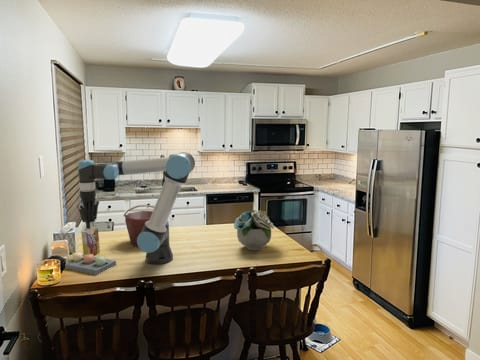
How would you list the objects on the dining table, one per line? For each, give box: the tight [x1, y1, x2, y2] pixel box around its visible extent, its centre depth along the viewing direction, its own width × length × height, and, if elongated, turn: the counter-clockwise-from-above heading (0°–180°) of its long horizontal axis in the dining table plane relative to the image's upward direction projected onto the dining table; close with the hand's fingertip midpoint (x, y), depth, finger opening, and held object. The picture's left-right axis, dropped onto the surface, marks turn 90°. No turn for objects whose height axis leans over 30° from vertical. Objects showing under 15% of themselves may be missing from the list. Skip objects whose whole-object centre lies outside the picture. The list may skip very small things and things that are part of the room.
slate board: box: [65, 254, 117, 276], centre depth 190 cm, size 24×14×2 cm, turn 68°
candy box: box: [81, 227, 101, 256], centre depth 206 cm, size 9×4×15 cm, turn 156°
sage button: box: [95, 255, 106, 267], centre depth 187 cm, size 5×5×4 cm
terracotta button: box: [84, 254, 95, 265], centre depth 190 cm, size 5×5×4 cm
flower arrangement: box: [233, 209, 275, 252], centre depth 217 cm, size 25×25×24 cm
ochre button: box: [71, 251, 83, 263], centre depth 193 cm, size 5×5×4 cm
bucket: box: [123, 204, 155, 248], centre depth 226 cm, size 24×22×25 cm
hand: (90, 233), depth 187 cm, fingers closed
